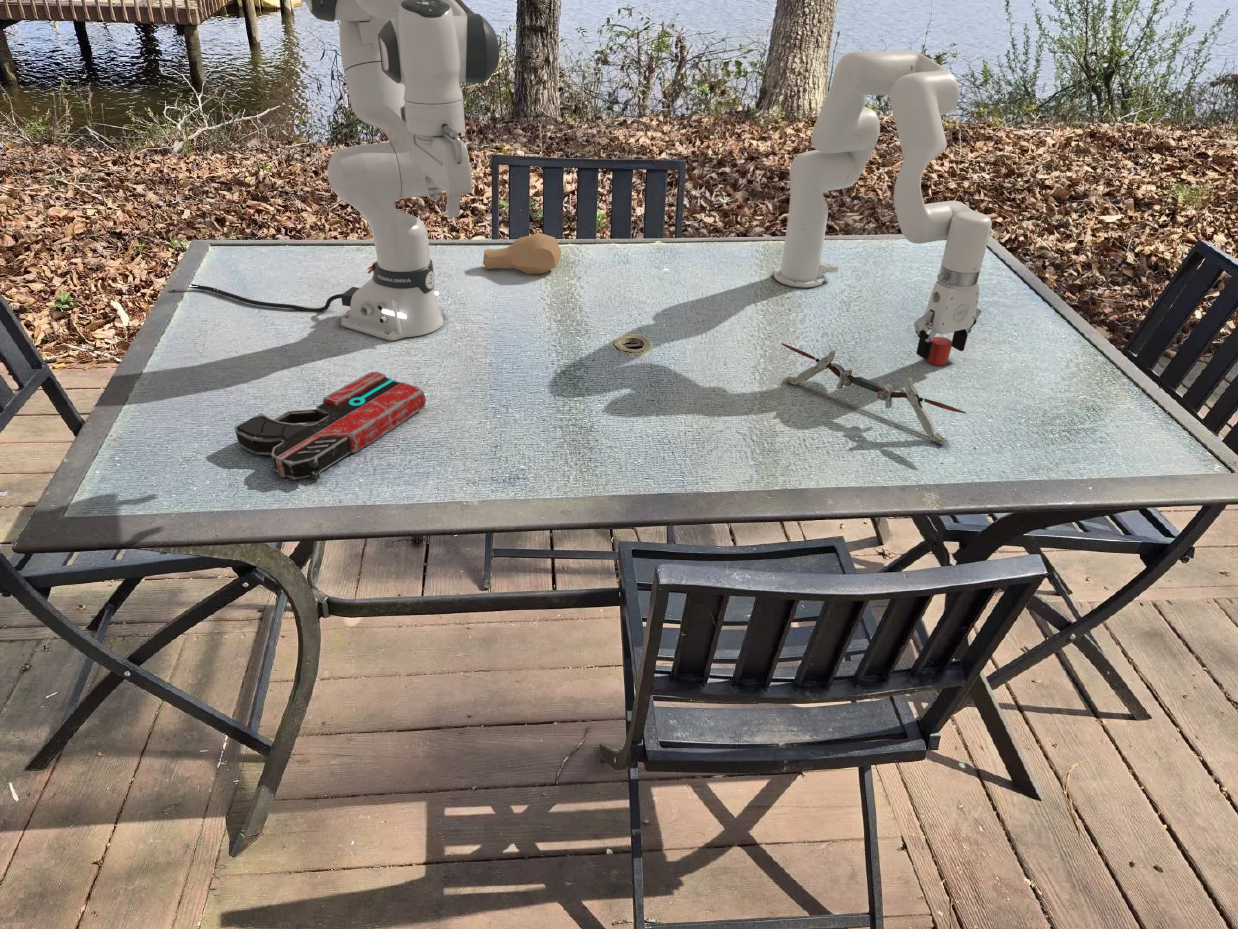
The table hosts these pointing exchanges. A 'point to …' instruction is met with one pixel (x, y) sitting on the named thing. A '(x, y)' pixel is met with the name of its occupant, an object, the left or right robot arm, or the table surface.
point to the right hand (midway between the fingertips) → (939, 352)
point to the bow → (883, 393)
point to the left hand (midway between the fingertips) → (443, 207)
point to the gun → (331, 425)
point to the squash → (526, 254)
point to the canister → (940, 351)
